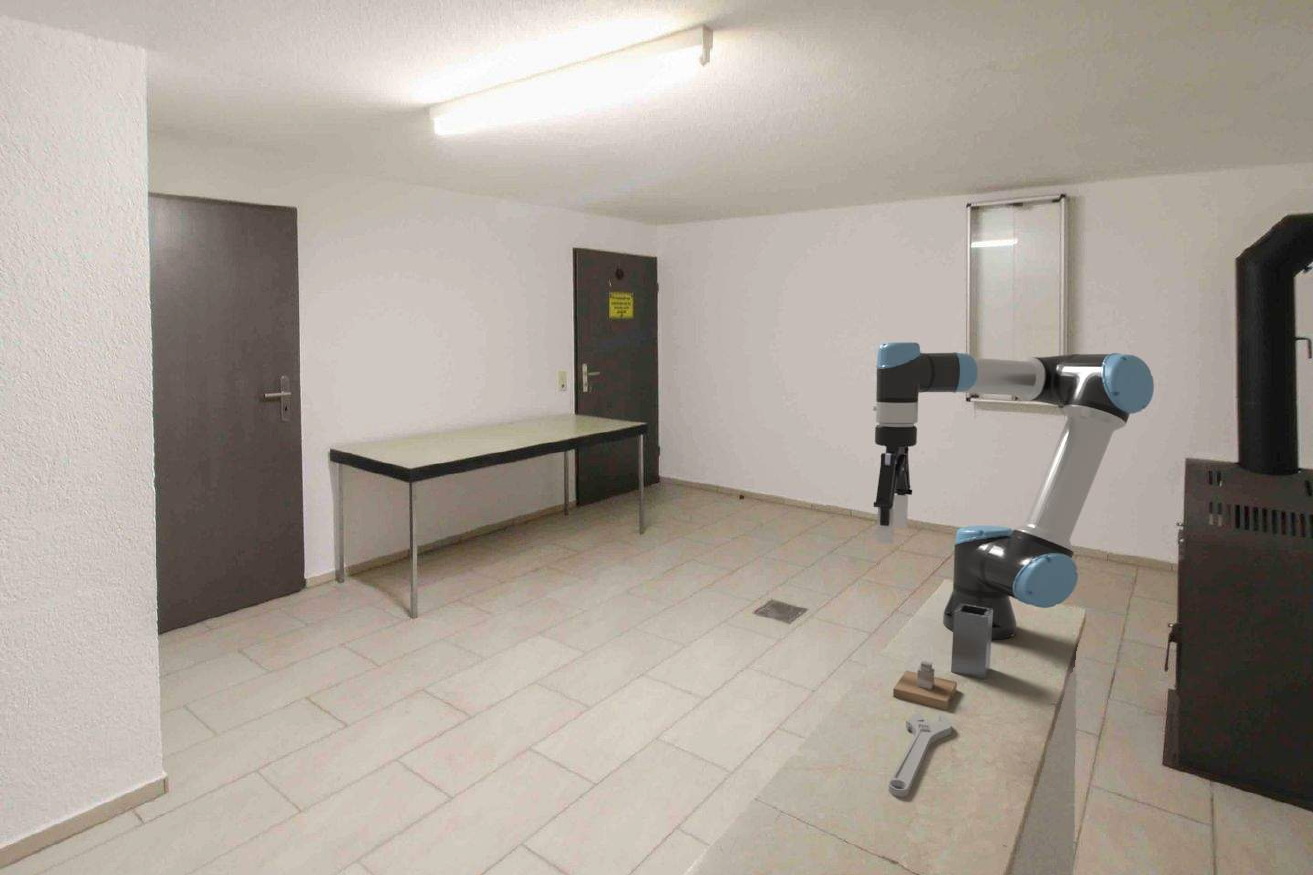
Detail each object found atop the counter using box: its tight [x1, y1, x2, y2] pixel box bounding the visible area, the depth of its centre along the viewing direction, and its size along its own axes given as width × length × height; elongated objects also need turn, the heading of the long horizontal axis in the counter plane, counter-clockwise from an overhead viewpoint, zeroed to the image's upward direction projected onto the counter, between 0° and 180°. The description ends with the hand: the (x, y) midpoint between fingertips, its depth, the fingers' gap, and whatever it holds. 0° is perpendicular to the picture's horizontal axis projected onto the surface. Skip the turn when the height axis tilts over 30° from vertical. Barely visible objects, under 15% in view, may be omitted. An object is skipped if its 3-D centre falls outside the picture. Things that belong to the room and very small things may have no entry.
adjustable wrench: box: [887, 712, 953, 798], centre depth 111 cm, size 25×6×2 cm, turn 143°
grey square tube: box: [950, 603, 993, 680], centre depth 140 cm, size 6×6×12 cm
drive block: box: [892, 659, 958, 711], centre depth 130 cm, size 9×9×6 cm
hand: (892, 534), depth 139 cm, fingers open, 13 cm apart
